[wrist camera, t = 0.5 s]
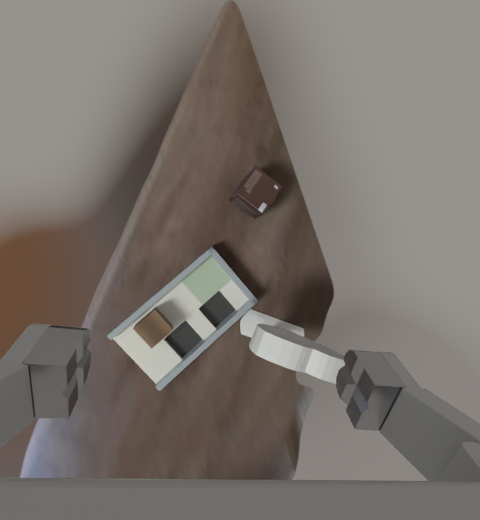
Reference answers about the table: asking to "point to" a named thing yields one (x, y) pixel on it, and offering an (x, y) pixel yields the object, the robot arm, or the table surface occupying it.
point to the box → (256, 193)
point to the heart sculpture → (289, 346)
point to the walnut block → (153, 327)
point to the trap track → (187, 316)
